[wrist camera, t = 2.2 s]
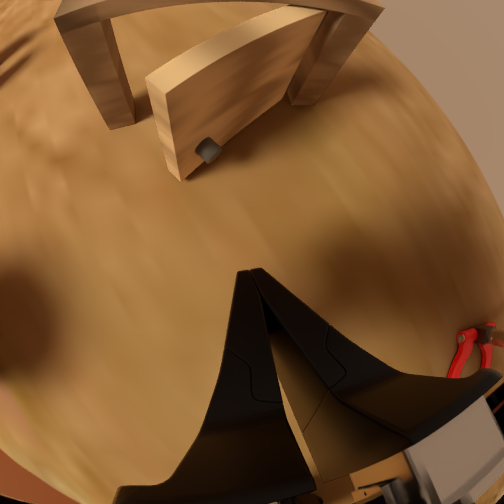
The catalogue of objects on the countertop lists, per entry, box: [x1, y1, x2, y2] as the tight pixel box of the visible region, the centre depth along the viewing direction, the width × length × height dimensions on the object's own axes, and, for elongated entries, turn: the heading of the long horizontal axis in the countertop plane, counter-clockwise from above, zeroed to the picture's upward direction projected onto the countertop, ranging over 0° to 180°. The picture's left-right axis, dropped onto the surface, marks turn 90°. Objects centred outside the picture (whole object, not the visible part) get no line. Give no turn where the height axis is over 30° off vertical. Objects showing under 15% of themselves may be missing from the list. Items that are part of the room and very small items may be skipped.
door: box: [145, 4, 328, 182], centre depth 14 cm, size 11×2×10 cm, turn 136°
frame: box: [54, 0, 385, 130], centre depth 13 cm, size 16×2×11 cm, turn 101°
